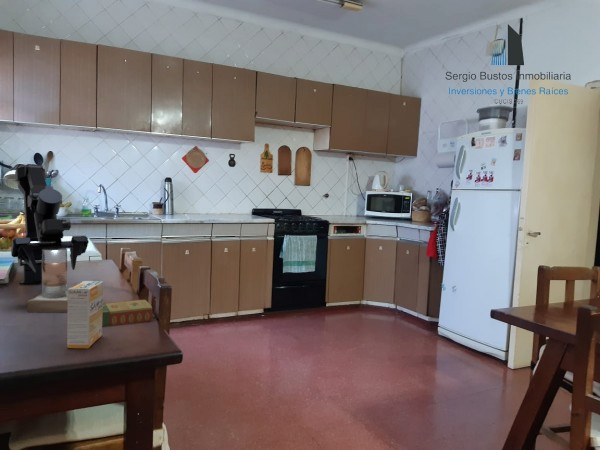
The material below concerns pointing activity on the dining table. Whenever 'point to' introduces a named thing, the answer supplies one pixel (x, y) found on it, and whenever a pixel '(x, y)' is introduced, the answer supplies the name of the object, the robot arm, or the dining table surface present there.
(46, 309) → the board
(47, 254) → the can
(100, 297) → the supplement box
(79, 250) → the robot arm
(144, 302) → the carton
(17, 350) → the dining table surface
